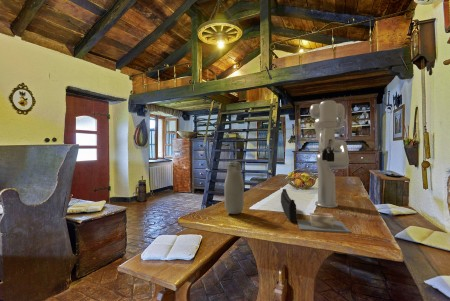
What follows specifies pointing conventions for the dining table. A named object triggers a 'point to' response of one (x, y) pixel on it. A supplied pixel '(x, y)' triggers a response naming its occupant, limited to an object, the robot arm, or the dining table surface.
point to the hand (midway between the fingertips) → (327, 160)
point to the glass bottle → (234, 188)
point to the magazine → (288, 206)
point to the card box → (321, 219)
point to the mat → (337, 227)
